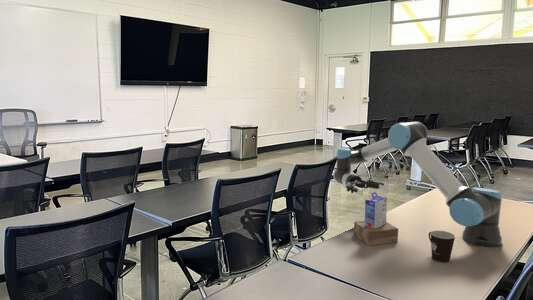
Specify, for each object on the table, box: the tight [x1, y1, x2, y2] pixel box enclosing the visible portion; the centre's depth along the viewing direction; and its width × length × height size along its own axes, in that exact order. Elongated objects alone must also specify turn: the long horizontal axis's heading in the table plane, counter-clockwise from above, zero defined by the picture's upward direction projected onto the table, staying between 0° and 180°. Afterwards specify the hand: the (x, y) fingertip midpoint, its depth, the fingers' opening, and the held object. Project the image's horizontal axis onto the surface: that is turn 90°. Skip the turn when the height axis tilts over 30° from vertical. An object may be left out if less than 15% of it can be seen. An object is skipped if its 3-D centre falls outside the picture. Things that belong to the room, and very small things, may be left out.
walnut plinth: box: [353, 220, 399, 246], centre depth 175 cm, size 13×14×6 cm
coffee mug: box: [428, 230, 456, 264], centre depth 155 cm, size 12×9×10 cm
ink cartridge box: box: [364, 191, 388, 229], centre depth 174 cm, size 10×6×14 cm, turn 134°
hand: (374, 191), depth 185 cm, fingers open, 13 cm apart
